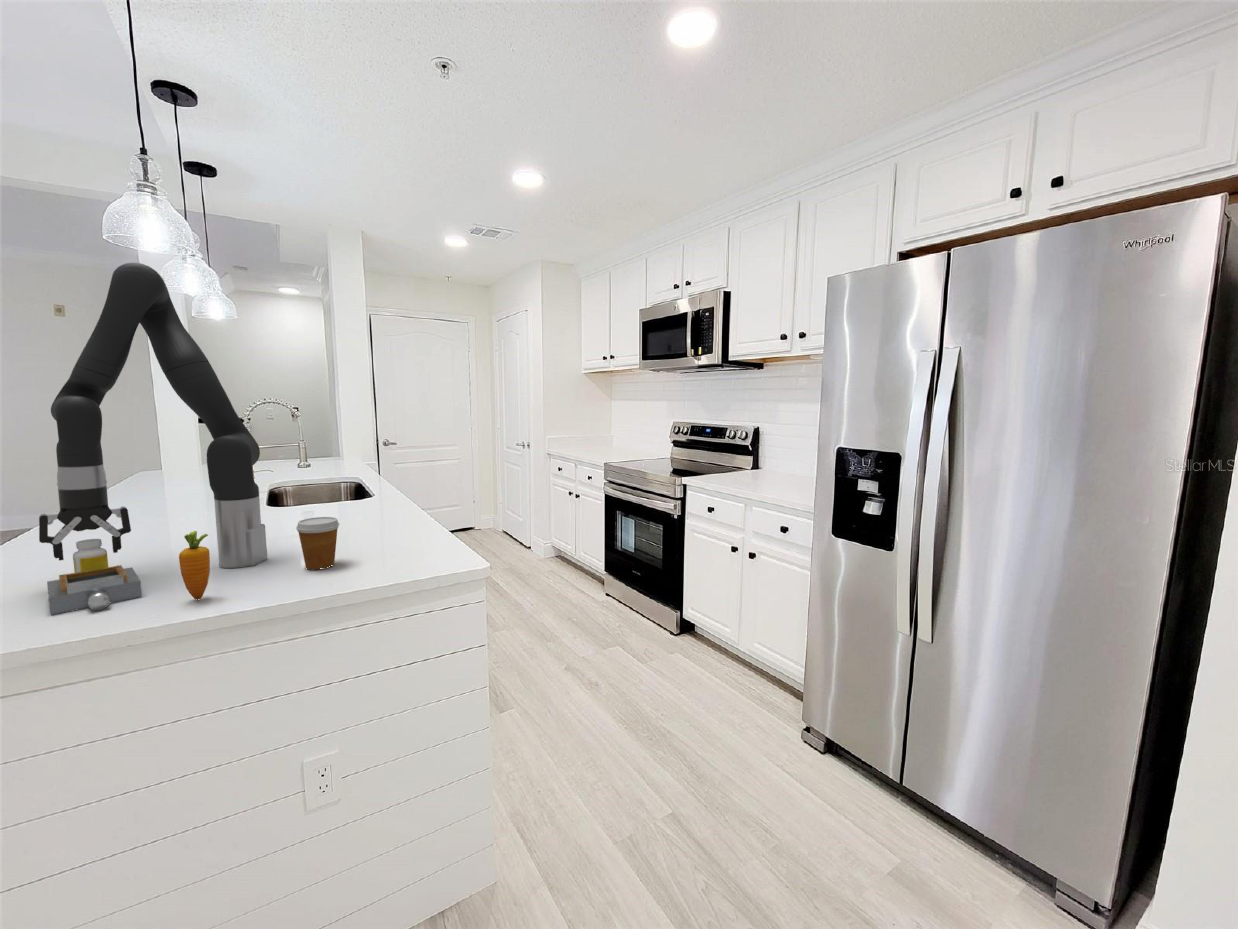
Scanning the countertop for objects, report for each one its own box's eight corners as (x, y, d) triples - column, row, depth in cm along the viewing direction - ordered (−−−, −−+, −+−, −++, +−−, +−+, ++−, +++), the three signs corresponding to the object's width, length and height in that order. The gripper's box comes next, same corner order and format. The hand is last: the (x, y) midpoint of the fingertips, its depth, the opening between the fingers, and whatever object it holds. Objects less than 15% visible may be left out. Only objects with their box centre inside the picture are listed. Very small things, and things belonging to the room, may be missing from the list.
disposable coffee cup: (295, 574, 124) (292, 526, 122) (301, 563, 132) (299, 518, 131) (339, 570, 128) (337, 523, 126) (342, 559, 136) (340, 515, 135)
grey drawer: (133, 582, 117) (131, 561, 116) (144, 602, 106) (142, 578, 105) (48, 597, 107) (46, 574, 106) (51, 621, 96) (48, 596, 95)
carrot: (194, 595, 110) (188, 527, 108) (218, 595, 110) (213, 527, 108) (176, 605, 105) (170, 533, 103) (202, 604, 105) (196, 533, 103)
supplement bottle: (116, 579, 118) (112, 538, 117) (90, 587, 113) (85, 544, 112) (95, 578, 119) (91, 537, 118) (68, 586, 114) (63, 543, 112)
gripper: (125, 480, 121) (130, 546, 123) (34, 486, 111) (41, 558, 113) (128, 484, 116) (133, 553, 118) (33, 491, 106) (41, 566, 108)
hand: (88, 555), depth 116 cm, fingers open, 8 cm apart
